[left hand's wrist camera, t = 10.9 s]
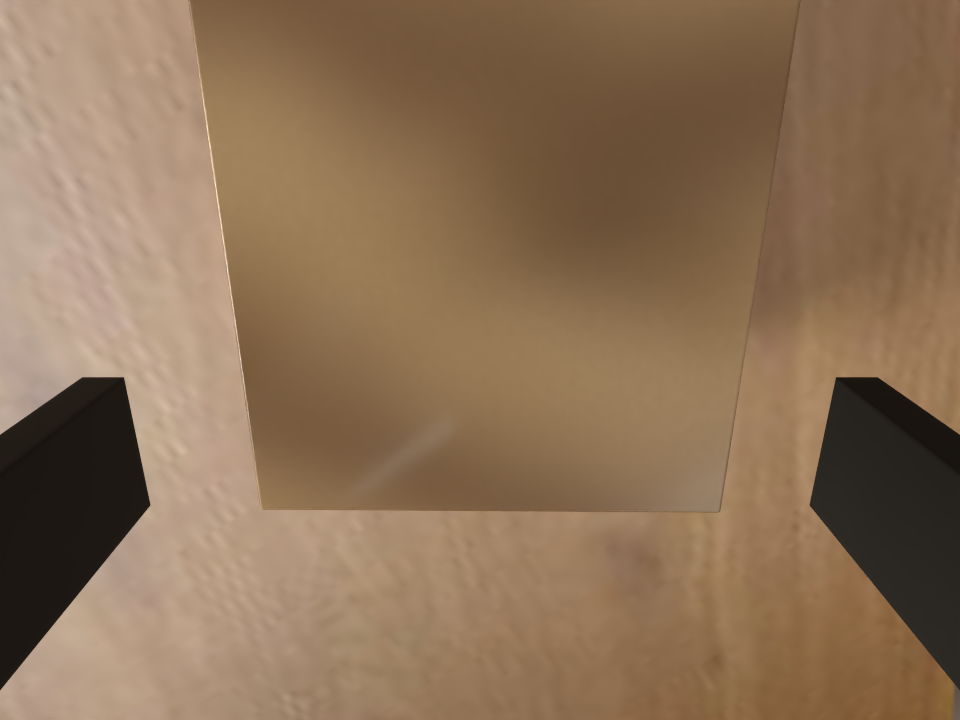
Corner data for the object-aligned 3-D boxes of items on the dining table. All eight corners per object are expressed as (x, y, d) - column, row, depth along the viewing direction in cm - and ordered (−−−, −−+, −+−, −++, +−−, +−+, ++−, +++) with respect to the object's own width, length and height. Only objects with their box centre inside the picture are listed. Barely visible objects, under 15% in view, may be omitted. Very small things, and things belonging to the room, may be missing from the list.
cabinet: (279, -392, 18) (55, -912, 9) (708, -395, 18) (948, -923, 9) (341, 360, 26) (259, 510, 17) (637, 362, 26) (720, 513, 17)
